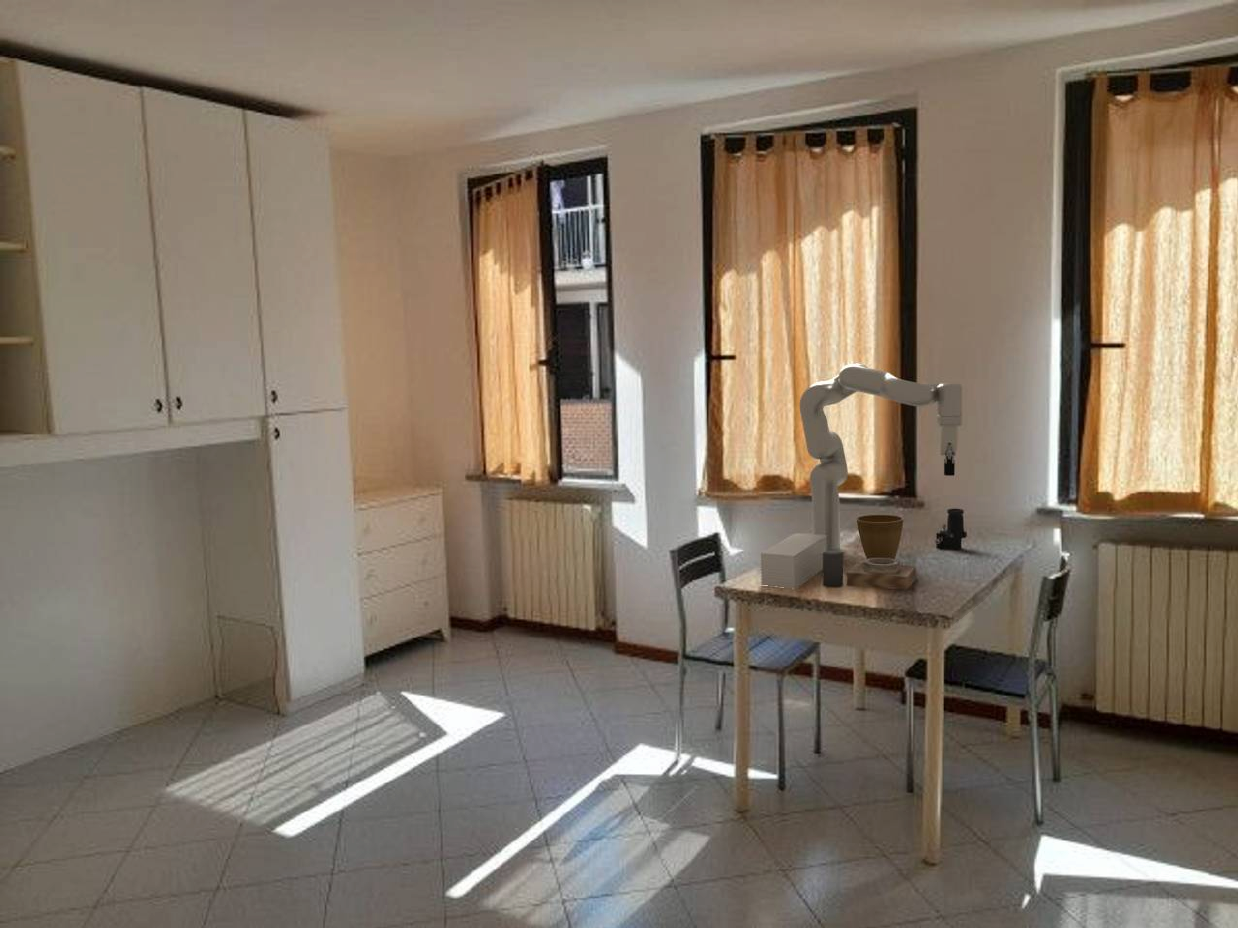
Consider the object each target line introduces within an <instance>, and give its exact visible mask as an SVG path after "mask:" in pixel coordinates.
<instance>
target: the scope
mask: <svg viewBox="0 0 1238 928" xmlns="http://www.w3.org/2000/svg"><path fill="white" fill-rule="evenodd" d="M946 511H947V520H946V521H947V523H946V524H945V523H943V524H942V530H939V532H936V533H935V534H936V537H935V538H936V539H935V540H934V543H935V544H936V549H944V550H951V551H959V550H962V539H966V538H967V537H968V535H967V534H968V533H967V531H965V527H964V525H965V524H964V521H965V520H964V514H965V511H964V509H962V508H948V509H947V510H946Z"/></svg>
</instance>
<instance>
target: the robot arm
mask: <svg viewBox="0 0 1238 928" xmlns="http://www.w3.org/2000/svg"><path fill="white" fill-rule="evenodd" d="M857 392H859V393H864V394H867V395H872V396H876V397H879V398H883V399H885V400H889V401H893V402H896V403H899V404H900V403H901V404H903V405H908V406H913V407H918V408H919V407H920V408H922V407H925V406H930V405H937V426H938V427H940V435H939V436H940V437H939V438H940V439H939V441H940V443H939V445H940V448H939V455H940V457H943V456H944V459H943V461H944V463H943V476H944V477H945V476H952V477H954V476H955V467H956V465H955V464H956V463H955V457H956V456H957V453H958V452H957V451H958V442H959V441H958V439H959V433H958V432H959V427H962V426H963V386H962V384H961V383H959V382H943V383H939V382H934V381H933V382H931V381H925V382H914V381H911V380H910V381H909V380H905V379H901V378H899V377H898V378H897V377H896V376H894V375H893V374H892V373H890V372H888V371H885V370H880V369H874V368H870V367H868V366H867V365H866V364H865V365H864V364H862V363H854V364H853V363H852V364H848V365H845V366H843V367H842V368H841V369H840V371H839V374H838V375H837V376H834V377H833V378H832V379H829V380H825V381H824V380H823V381H819V382H816V383H813V384H812V385H810V386H809V387H808V388H807V389H806V390H804V392H803V393H802V395H801V397H800V399H799V414H800V417H801V421H802V422H801V423H802V427H803V433H804V439H805V444H806V449H807V453H808V455H809V456H810V458H812V459H814V460H818V461H819V463H818V464H817V465H816V466H814V467H813V468H812V470H811V472H810V473H809V486H810V492H811V493H810V494H811V509H812V510H811V512H812V513H811V515H812V516H811V518H812V519H811V520H812V522H811V523H812V527H811V528H812V529H811V530H812V533H811V534H816V535H826V551H839V552H842V553H843V554H844V553H845V551H846V550H845V547H844V546H841V515H840V514H841V512H840V511H841V510H840V509H841V508H840V495H839V489H838V487H840V486H841V485H843V484H844V483H845V482H846V480H847V478H848V474H849V473H848V471H849V470H848V464H847V460H846V453H845V450H844V444H843V441H842V438H841V437H840V436H839V435H838V433H837V432H835V431H833V430H830V428H829V424H828V418H827V415H826V413H825V411H824V408H825V407H826V406H831V405H836V404H839V403H840V402H842V401H844V400H846V399H847V398H849V397H851V396H852V395H854V394H856V393H857Z"/></svg>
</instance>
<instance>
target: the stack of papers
mask: <svg viewBox="0 0 1238 928" xmlns="http://www.w3.org/2000/svg"><path fill="white" fill-rule="evenodd" d="M823 552H826V535H816V534H812V533H798V532H797V533H793V534H792V535H790V536H788V537H786V538H785V539H783V540H781V541H779V542H778V543H775V544H774V545H772V546H771V547H769V548H766V550H763V551H761V552H760V568H761V569H760V571H761V572H760V574H761V575H760V576H761V577H760V581H761V582H760V583H761V585H768V586H777V587H784V588H793V589H792V590H794V589H795V588H796V589H797V588H798V586H799V585H800V586H802V585H803V584H804V583H806V582H807V581H808V580H809V579H811V578H812V577H814V576H815V575H816V574H819V572H821V571H823ZM800 586H799V587H800ZM796 589H795V590H796Z"/></svg>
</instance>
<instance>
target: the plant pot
mask: <svg viewBox="0 0 1238 928" xmlns="http://www.w3.org/2000/svg"><path fill="white" fill-rule="evenodd" d="M856 523H857V530H858V534H859V539H860V543H861V546H862V549H863V552H864V556H865V560H866V559H870V558H878V557H879V558H892V559H895V560H896V557H897V554H898V550H899V546H900V541H901V539H902V533H903V527H904V526H903V525H904V517H903V516H900V515H895V514H893V515H892V514H868V515H867V514H866V515H861V516H858V517H856Z"/></svg>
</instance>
